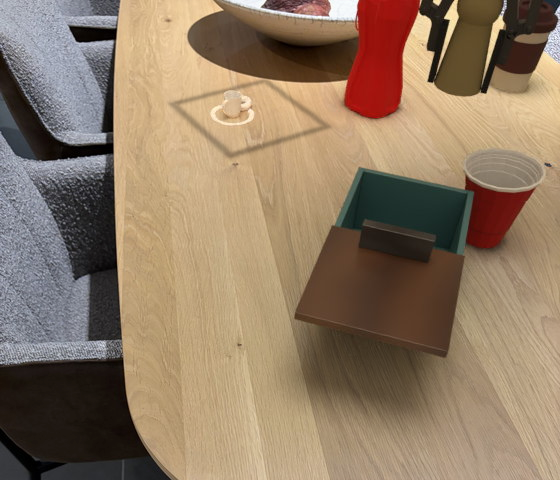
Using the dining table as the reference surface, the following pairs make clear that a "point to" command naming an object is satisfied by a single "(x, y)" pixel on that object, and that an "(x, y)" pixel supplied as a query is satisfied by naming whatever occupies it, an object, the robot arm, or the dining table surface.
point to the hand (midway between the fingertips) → (457, 83)
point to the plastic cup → (498, 191)
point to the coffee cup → (524, 50)
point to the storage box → (409, 207)
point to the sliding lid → (385, 287)
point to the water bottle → (380, 56)
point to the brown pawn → (468, 48)
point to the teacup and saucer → (234, 107)
